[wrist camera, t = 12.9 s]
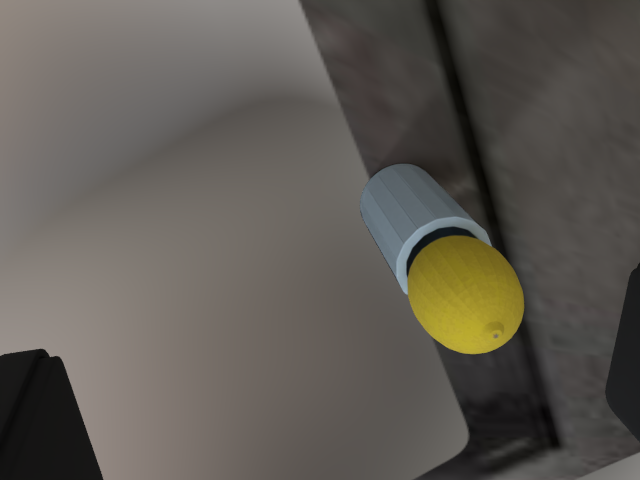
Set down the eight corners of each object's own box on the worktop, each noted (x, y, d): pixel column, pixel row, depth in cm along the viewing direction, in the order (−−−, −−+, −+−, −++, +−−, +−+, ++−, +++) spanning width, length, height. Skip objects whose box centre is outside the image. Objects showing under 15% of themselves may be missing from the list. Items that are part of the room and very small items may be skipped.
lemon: (499, 236, 34) (575, 311, 27) (445, 308, 35) (504, 397, 28) (425, 197, 32) (486, 267, 25) (372, 276, 33) (415, 362, 26)
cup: (358, 168, 38) (396, 224, 30) (438, 158, 39) (495, 211, 31) (361, 241, 41) (396, 311, 33) (435, 231, 42) (488, 297, 34)
